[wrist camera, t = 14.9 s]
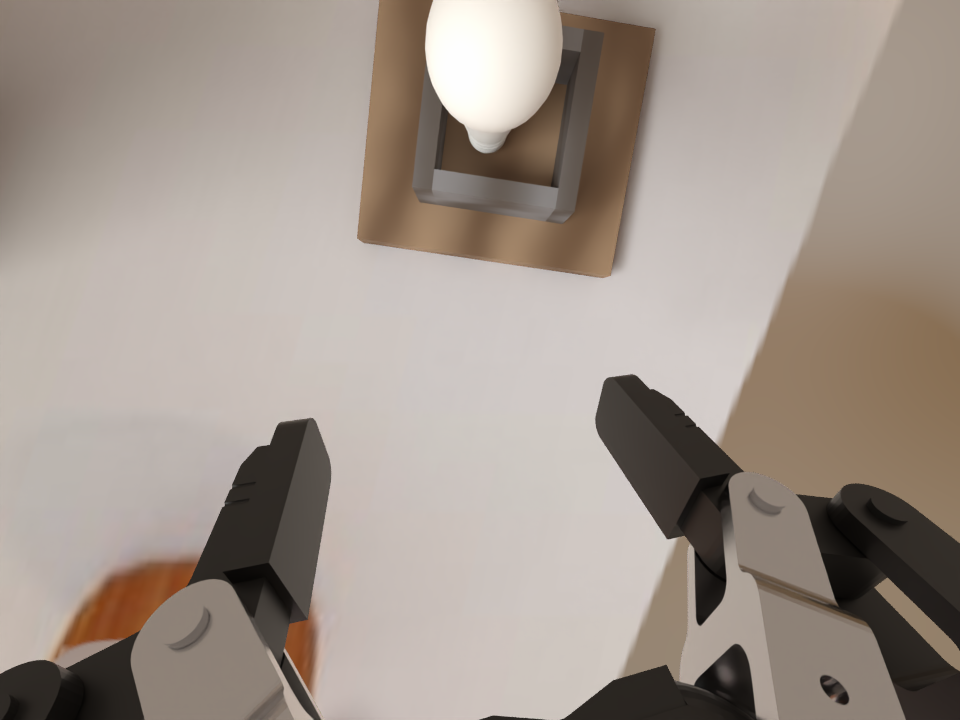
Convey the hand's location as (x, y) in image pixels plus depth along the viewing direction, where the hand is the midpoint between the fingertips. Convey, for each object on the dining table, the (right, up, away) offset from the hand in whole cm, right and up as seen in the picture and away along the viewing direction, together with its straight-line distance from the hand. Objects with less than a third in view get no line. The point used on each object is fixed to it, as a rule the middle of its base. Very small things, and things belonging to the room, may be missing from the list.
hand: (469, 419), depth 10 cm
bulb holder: (+2, +17, +15) cm, 23 cm away
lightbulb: (+1, +17, +14) cm, 22 cm away
